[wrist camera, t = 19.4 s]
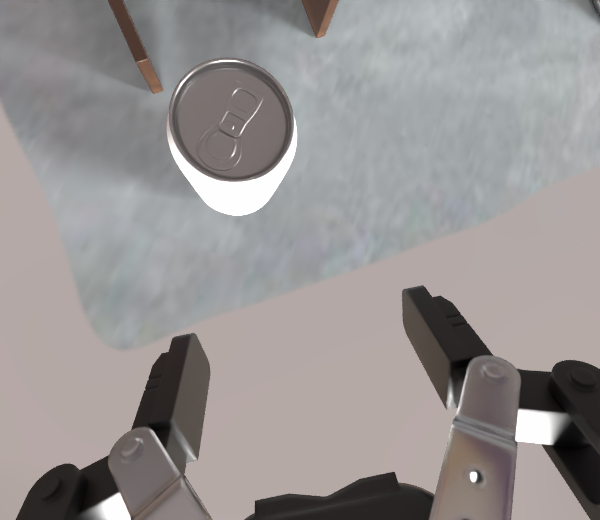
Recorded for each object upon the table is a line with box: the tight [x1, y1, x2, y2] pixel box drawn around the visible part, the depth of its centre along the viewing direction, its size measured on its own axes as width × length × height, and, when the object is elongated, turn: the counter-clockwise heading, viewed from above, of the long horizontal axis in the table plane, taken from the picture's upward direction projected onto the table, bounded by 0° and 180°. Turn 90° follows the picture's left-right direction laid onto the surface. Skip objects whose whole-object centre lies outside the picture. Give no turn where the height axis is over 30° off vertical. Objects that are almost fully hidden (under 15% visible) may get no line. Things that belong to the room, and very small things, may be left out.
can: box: [167, 58, 297, 215], centre depth 21 cm, size 6×6×12 cm
